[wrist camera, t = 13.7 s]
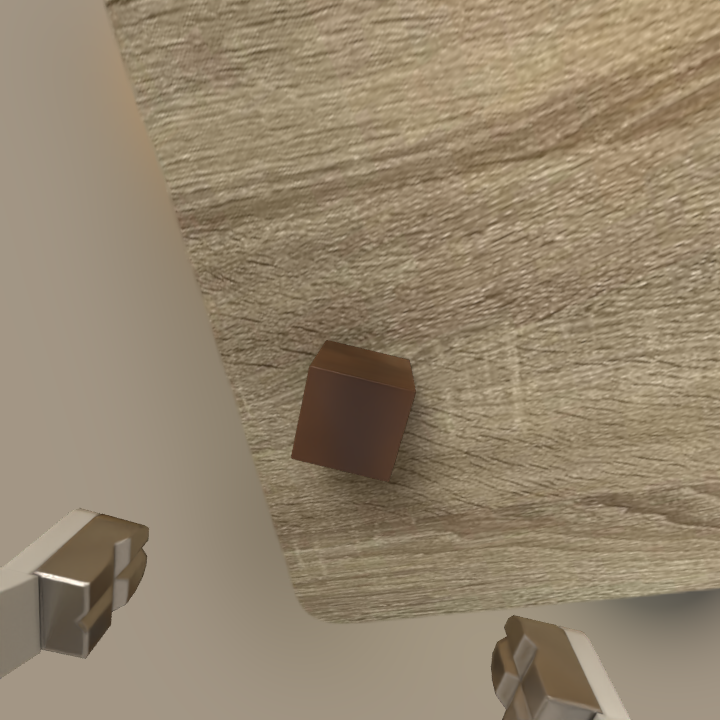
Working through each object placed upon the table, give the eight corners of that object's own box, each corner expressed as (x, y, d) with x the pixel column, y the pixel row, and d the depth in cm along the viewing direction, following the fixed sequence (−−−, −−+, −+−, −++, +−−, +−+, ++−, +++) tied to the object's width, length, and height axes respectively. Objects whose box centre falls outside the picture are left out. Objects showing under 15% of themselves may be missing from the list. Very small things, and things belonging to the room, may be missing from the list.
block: (310, 415, 20) (290, 459, 16) (326, 339, 19) (309, 365, 15) (388, 434, 20) (389, 483, 16) (409, 359, 19) (416, 391, 15)
